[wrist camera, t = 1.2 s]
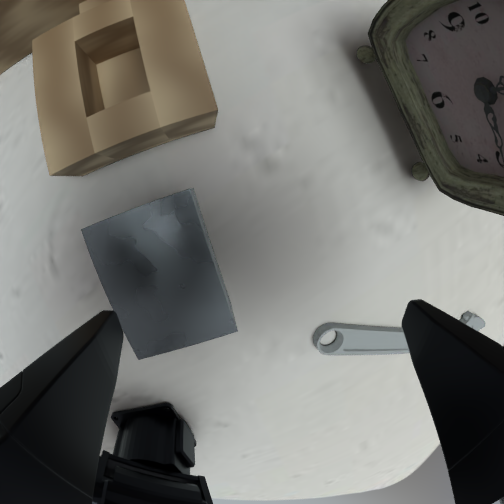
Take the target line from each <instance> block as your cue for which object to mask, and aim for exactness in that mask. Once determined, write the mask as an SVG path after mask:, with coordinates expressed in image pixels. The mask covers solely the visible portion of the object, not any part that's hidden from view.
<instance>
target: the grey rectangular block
mask: <svg viewBox="0 0 504 504" xmlns="http://www.w3.org/2000/svg"><path fill="white" fill-rule="evenodd" d="M81 231H82V234H83V237H84V239H85V242H86V245H87V248H88V251H89V253H90V256H91V258H92V261H93V264H94V266H95V269H96V271H97V274H98V276H99V279H100V281H101V283H102V286H103V288H104V290H105V293H106V295H107V297H108V299H109V302H110V304H111V306H112V308H113V310H114V311H115V312H116V313H117V315H118V318H119V321H120V324H121V327H122V329H123V331H124V333H125V335H126V337H127V339H128V341H129V343H130V345H131V347H132V349H133V350H134V352H135V354H136V356H137V358H138V360H139V359H143V358H147V357H151V356H155V355H159V354H162V353H166V352H170V351H173V350H177V349H181V348H184V347H188V346H191V345H194V344H198V343H201V342H205V341H208V340H211V339H215V338H218V337H221V336H224V335H227V334H231V333H234V332H237V331H238V330H237V326H236V322H235V318H234V314H233V310H232V306H231V302H230V298H229V295H228V292H227V290H226V287H225V284H224V281H223V278H222V275H221V272H220V269H219V266H218V263H217V260H216V257H215V254H214V251H213V248H212V245H211V242H210V239H209V236H208V233H207V230H206V227H205V224H204V221H203V217H202V214H201V211H200V208H199V205H198V202H197V198H196V195H195V192H194V189H193V188H191V189H188V190H185V191H182V192H179V193H176V194H173V195H170V196H167V197H164V198H161V199H159V200H156V201H153V202H150V203H147V204H145V205H142V206H139V207H137V208H134V209H131V210H129V211H126V212H123V213H121V214H118V215H116V216H113V217H111V218H108V219H106V220H103V221H101V222H98V223H96V224H93V225H91V226H88V227H86V228H84V229H81Z"/></svg>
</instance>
